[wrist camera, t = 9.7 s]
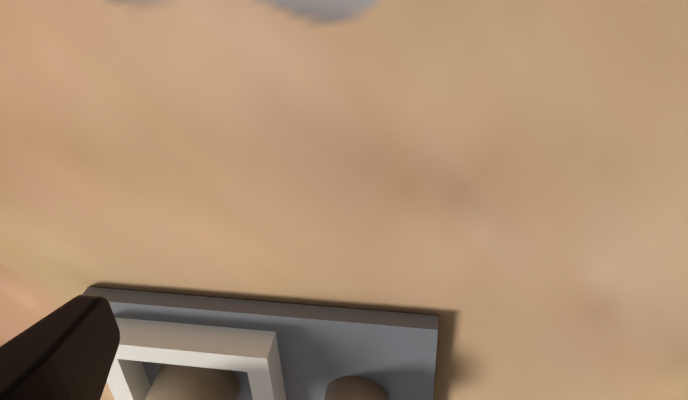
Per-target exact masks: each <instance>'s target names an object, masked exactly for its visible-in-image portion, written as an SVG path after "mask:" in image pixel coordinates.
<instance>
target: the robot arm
mask: <svg viewBox="0 0 688 400" xmlns="http://www.w3.org/2000/svg"><path fill="white" fill-rule="evenodd" d="M119 342H120V330H119V327H118V325H117V322H116V319H115V317H114V314H113V311H112V309H111V306H110V303H109V301H108V300H107V299H106V298H105V297H104V296H98V295H86V294H83V295H79V296H76V297H75V298H73V299H72V300H70V301H69V302H67V303H66V304H64V305H63V306H61V307H59V308H58V309H56V310H55V311H53V312H52V313H50V314H49V315H47V316H46V317H44V318H43V319H41V320H40V321H38V322H37V323H35V324H34V325H32V326H31V327H29V328H28V329H26V330H25V331H23V332H22V333H20V334H19V335H17V336H16V337H14V338H13V339H11V340H10V341H8V342H7V343H5V344H4V345H2V346H1V347H0V400H100V398H101V395H102V392H103V389H104V387H105V384H106V381H107V378H108V375H109V372H110V369H111V367H112V364H113V361H114V358H115V355H116V352H117V349H118V346H119Z"/></svg>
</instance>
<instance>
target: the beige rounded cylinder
mask: <svg viewBox="0 0 688 400" xmlns="http://www.w3.org/2000/svg"><path fill="white" fill-rule="evenodd" d="M239 393H240V383H239V380H238V378H237V376H236V375H235V373H234V372H233V371H232V370H223V369H213V368H203V367H193V366H183V365H174V364H164V363H162V365H161V367H160V369H159V371H158V373H157V375H156V378H155V380H154V382H153V384H152V386H151V388H150V390H149V393H148V395H147V397H146V399H145V400H237V399H238V396H239Z"/></svg>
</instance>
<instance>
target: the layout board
mask: <svg viewBox="0 0 688 400" xmlns="http://www.w3.org/2000/svg"><path fill="white" fill-rule="evenodd" d="M83 294H86V295H98V296H104V297H105V298H106V299H107V300H108V301H109V303H110V306H111V309H112V311H113V314H114V317H115V319H116V322H117V325H118V327H119V330H120V342H119V346H118V349H117V352H116V355H115V358H114V361H113V364H112V367H111V369H110V372H109V375H108V378H107V383H108V385H109V388H110V390H111V392H112V395H113V397H114V399H115V400H145V399H146V397H147V395H148V393H149V390H150V388H151V386H152V384H153V382H154V380H155V378H156V375H157V373H158V371H159V369H160V367H161V365H162V363H164V364H174V365H183V366H193V367H203V368H213V369H223V370H232V371H233V372H234V373H235V375H236V376H237V378H238V380H239V383H240V393H239V396H238V399H237V400H433V393H434V379H435V365H436V351H437V337H438V316H437V315H425V314H413V313H400V312H388V311H376V310H364V309H352V308H340V307H328V306H315V305H303V304H291V303H279V302H267V301H255V300H243V299H230V298H218V297H206V296H194V295H182V294H170V293H158V292H146V291H133V290H121V289H109V288H97V287H88V288H87V289H86V290H85V292H84V293H83Z"/></svg>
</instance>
